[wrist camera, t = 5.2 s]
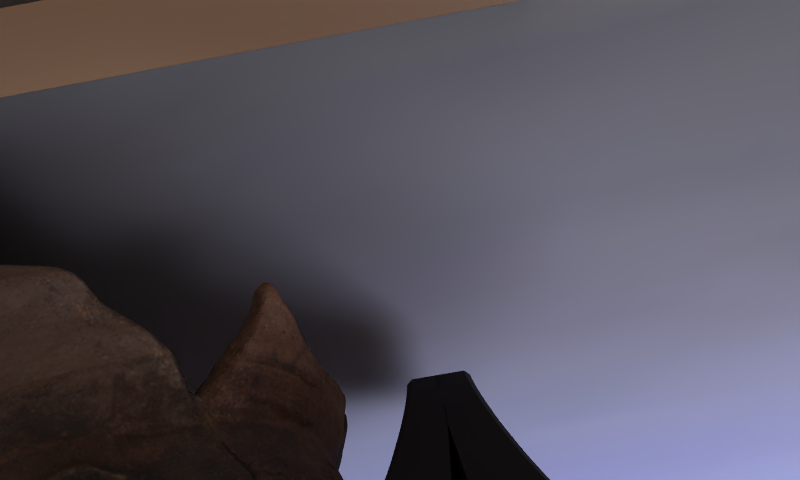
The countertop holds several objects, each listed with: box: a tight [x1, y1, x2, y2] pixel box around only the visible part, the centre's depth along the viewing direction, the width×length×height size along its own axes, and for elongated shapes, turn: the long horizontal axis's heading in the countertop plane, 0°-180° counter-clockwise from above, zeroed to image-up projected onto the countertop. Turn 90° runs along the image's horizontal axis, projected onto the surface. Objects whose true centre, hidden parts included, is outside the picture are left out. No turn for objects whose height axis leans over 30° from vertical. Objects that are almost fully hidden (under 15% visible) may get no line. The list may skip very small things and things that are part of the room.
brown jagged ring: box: [0, 265, 347, 480], centre depth 9 cm, size 12×10×8 cm
